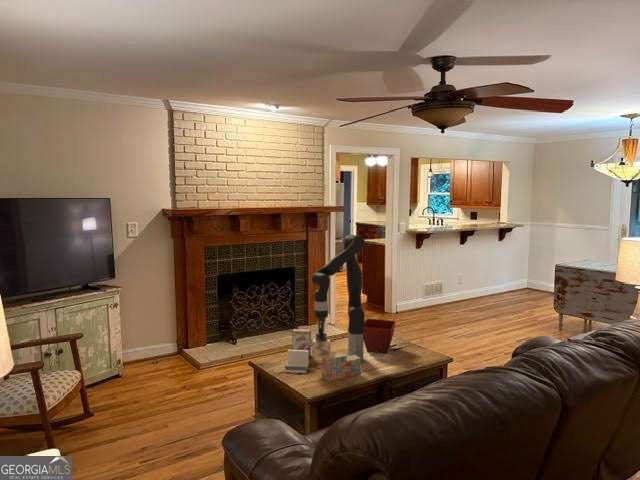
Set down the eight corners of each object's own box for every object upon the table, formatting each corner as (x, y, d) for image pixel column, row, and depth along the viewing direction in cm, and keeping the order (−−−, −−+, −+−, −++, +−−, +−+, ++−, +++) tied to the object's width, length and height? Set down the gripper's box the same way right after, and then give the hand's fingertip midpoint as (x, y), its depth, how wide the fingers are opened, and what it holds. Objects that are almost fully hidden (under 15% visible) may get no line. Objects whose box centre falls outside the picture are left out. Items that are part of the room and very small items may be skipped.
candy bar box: (292, 357, 282) (291, 331, 280) (293, 354, 287) (293, 328, 285) (310, 358, 281) (310, 331, 279) (311, 355, 286) (311, 329, 284)
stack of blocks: (355, 370, 263) (355, 349, 261) (360, 374, 257) (361, 353, 256) (321, 376, 254) (321, 355, 252) (326, 381, 248) (326, 359, 247)
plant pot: (360, 352, 290) (360, 326, 288) (366, 342, 308) (366, 318, 306) (390, 356, 284) (391, 329, 282) (395, 345, 302) (395, 320, 300)
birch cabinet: (330, 352, 262) (330, 332, 261) (330, 356, 258) (329, 335, 256) (313, 352, 263) (312, 332, 262) (312, 355, 258) (311, 334, 257)
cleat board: (308, 364, 270) (308, 349, 269) (306, 372, 259) (306, 357, 258) (288, 363, 272) (288, 349, 271) (284, 372, 260) (284, 356, 259)
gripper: (327, 312, 250) (327, 343, 252) (328, 305, 264) (329, 334, 266) (313, 311, 251) (313, 342, 253) (315, 305, 264) (316, 334, 266)
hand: (321, 338), depth 259 cm, fingers closed on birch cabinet, 1 cm apart
